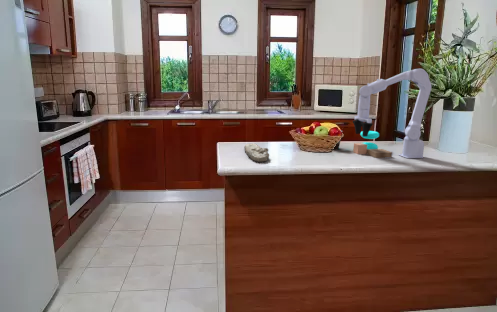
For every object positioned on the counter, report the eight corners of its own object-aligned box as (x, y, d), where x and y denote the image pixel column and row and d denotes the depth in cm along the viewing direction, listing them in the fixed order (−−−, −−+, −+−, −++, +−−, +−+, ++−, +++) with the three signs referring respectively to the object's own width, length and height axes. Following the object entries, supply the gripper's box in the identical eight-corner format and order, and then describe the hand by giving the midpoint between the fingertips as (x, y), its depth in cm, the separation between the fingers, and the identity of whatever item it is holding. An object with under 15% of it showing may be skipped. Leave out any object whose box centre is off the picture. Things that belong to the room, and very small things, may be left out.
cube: (361, 152, 191) (362, 143, 190) (366, 154, 187) (367, 144, 186) (353, 152, 191) (353, 143, 189) (357, 154, 186) (358, 145, 185)
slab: (381, 154, 188) (382, 148, 188) (391, 158, 180) (392, 152, 179) (366, 154, 187) (366, 149, 186) (375, 158, 178) (375, 152, 177)
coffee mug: (328, 150, 194) (330, 132, 192) (322, 147, 203) (323, 129, 200) (348, 149, 197) (350, 131, 194) (341, 146, 205) (342, 129, 203)
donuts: (360, 129, 203) (378, 131, 200) (358, 147, 205) (377, 148, 202) (360, 132, 193) (380, 133, 191) (359, 150, 196) (378, 151, 193)
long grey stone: (258, 150, 198) (241, 151, 196) (258, 141, 197) (240, 142, 195) (273, 162, 164) (252, 163, 162) (272, 150, 163) (251, 152, 161)
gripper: (350, 107, 190) (348, 132, 193) (363, 110, 176) (361, 137, 179) (362, 107, 191) (359, 132, 194) (376, 110, 177) (373, 137, 180)
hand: (361, 135), depth 186 cm, fingers open, 7 cm apart
